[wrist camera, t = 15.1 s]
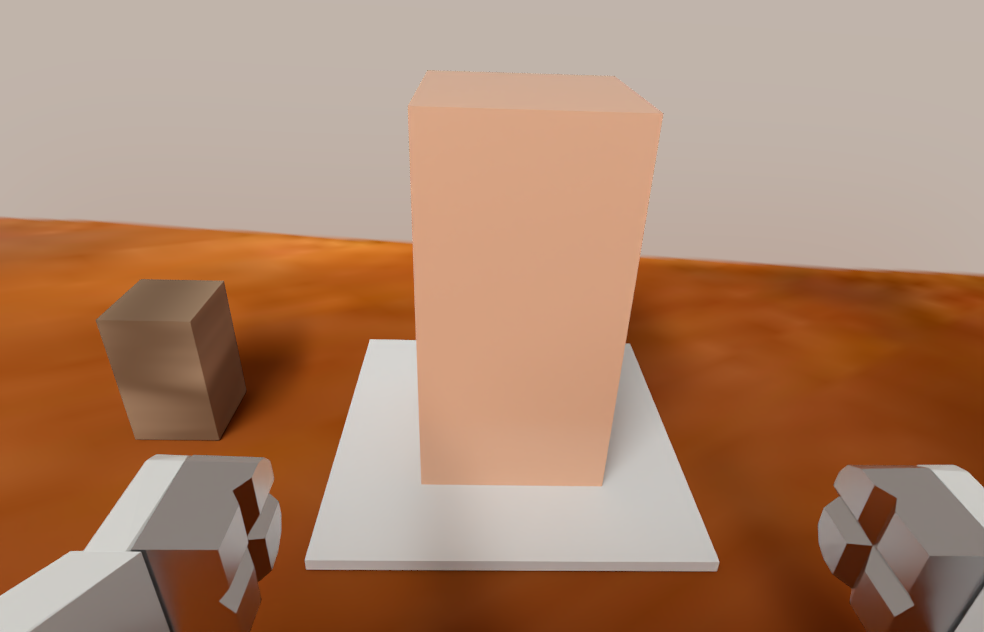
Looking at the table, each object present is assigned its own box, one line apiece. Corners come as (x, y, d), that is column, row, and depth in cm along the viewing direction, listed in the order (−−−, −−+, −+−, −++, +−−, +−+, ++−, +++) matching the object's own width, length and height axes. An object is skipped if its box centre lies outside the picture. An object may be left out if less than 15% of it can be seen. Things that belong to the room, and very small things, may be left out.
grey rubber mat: (628, 350, 28) (629, 343, 28) (716, 571, 18) (719, 561, 18) (370, 346, 28) (370, 339, 28) (306, 569, 17) (304, 560, 17)
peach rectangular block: (577, 380, 25) (614, 76, 19) (601, 486, 20) (663, 113, 14) (433, 378, 25) (427, 70, 19) (421, 484, 20) (407, 105, 14)
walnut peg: (246, 390, 25) (224, 280, 22) (219, 440, 22) (189, 321, 20) (171, 389, 25) (140, 279, 22) (135, 439, 22) (95, 320, 20)
